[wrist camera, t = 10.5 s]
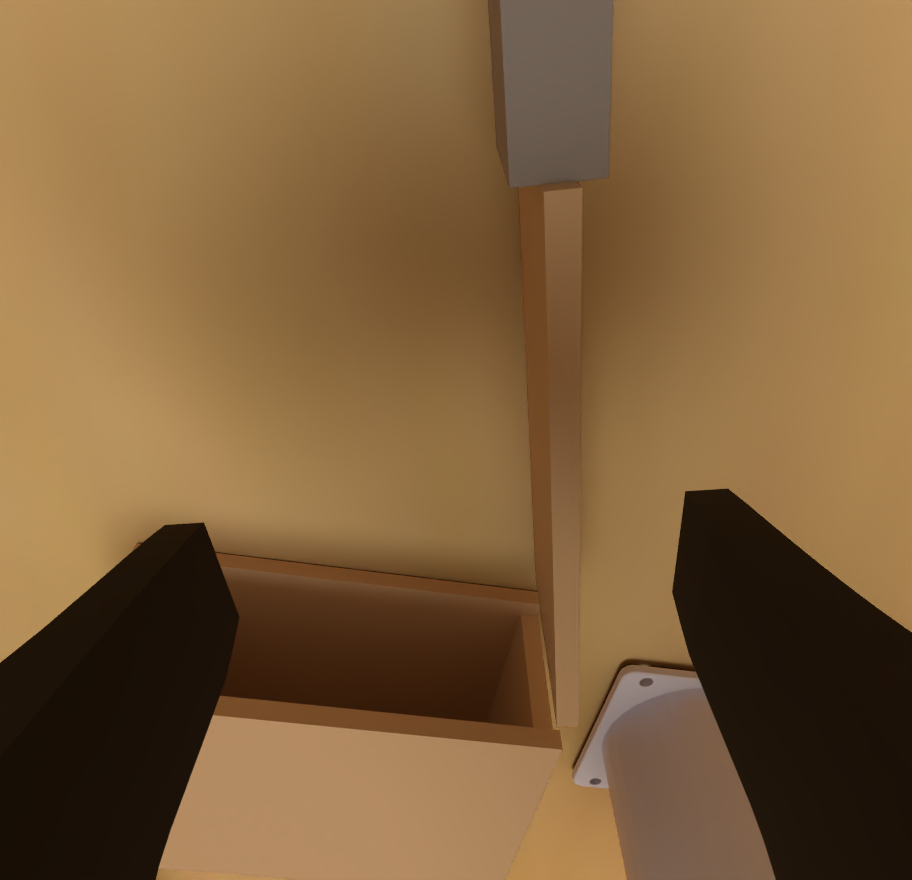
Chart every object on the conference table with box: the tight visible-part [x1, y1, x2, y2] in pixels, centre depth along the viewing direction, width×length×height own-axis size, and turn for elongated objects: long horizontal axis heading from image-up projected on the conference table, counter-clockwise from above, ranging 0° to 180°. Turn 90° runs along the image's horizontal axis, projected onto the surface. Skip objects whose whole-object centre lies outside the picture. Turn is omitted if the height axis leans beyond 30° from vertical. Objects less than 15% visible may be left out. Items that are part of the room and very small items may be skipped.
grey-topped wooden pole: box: [488, 0, 613, 727], centre depth 15 cm, size 19×2×6 cm, turn 6°
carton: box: [132, 543, 563, 880], centre depth 23 cm, size 14×9×6 cm, turn 80°
